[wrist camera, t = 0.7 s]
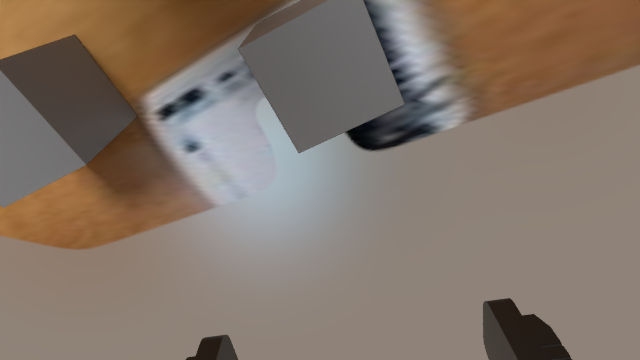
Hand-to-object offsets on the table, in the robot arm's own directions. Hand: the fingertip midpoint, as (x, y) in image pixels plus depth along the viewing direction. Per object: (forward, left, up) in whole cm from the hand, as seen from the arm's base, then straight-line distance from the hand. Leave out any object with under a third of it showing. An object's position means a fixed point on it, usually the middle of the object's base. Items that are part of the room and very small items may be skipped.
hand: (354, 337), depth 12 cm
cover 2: (-5, +2, -21) cm, 21 cm away
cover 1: (-10, -16, -21) cm, 28 cm away
